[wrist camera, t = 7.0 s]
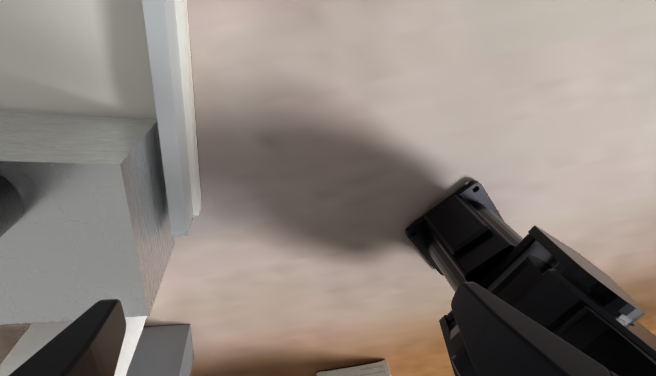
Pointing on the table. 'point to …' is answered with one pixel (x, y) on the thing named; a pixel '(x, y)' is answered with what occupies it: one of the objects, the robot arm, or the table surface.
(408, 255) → the table surface
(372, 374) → the supplement box
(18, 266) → the block
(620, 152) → the table surface
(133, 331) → the white pouch
